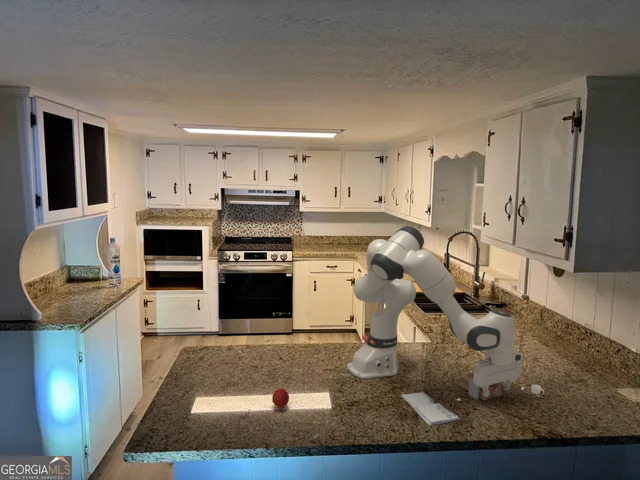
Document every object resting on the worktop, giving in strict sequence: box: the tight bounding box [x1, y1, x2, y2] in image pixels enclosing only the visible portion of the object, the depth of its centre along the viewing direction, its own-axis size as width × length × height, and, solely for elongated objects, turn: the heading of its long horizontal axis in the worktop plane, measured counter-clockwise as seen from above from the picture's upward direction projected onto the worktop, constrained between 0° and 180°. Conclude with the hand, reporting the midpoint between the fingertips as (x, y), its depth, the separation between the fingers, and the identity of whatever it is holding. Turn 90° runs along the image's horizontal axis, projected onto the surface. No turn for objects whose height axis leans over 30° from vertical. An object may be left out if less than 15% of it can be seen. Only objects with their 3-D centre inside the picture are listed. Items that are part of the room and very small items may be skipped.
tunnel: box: [468, 379, 504, 400], centre depth 152 cm, size 12×4×6 cm, turn 115°
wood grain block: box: [459, 371, 504, 401], centre depth 154 cm, size 9×12×4 cm
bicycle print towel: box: [401, 391, 463, 426], centre depth 146 cm, size 19×20×2 cm
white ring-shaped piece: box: [521, 384, 545, 396], centre depth 153 cm, size 9×8×4 cm
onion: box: [271, 386, 290, 410], centre depth 144 cm, size 6×6×8 cm
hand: (496, 392), depth 147 cm, fingers open, 8 cm apart
